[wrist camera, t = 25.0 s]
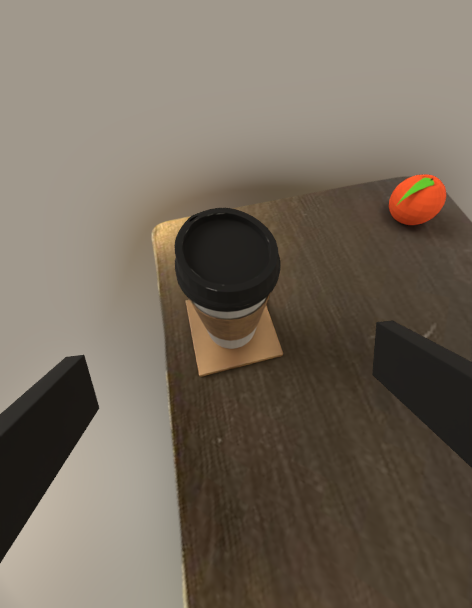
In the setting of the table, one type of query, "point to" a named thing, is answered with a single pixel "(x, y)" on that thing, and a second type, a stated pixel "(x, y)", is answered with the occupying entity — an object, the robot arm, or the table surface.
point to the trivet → (223, 359)
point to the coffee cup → (227, 272)
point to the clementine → (417, 199)
